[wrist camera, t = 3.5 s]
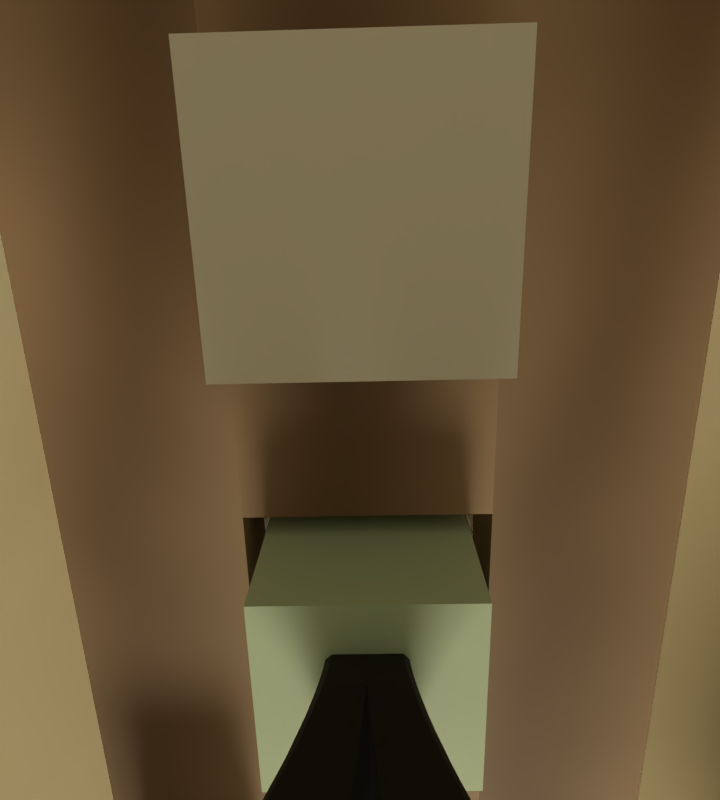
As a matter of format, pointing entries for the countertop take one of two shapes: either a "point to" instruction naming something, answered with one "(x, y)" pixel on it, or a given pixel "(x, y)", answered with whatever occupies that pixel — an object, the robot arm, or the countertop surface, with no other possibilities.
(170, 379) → the brown flat board
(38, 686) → the countertop surface
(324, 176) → the beige cube
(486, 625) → the sage green cube
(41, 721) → the countertop surface
